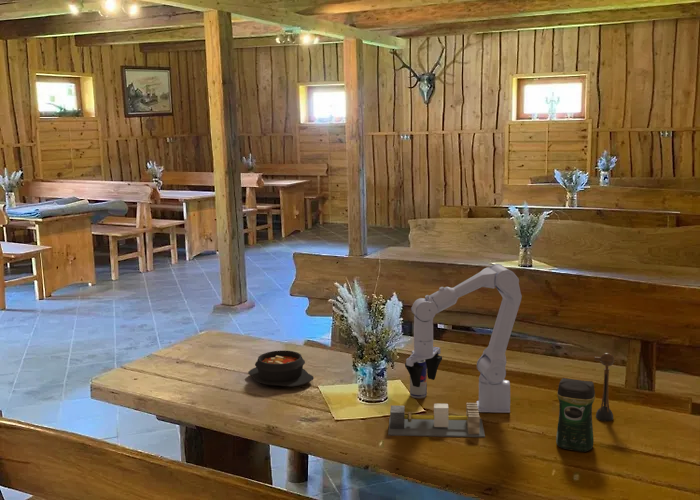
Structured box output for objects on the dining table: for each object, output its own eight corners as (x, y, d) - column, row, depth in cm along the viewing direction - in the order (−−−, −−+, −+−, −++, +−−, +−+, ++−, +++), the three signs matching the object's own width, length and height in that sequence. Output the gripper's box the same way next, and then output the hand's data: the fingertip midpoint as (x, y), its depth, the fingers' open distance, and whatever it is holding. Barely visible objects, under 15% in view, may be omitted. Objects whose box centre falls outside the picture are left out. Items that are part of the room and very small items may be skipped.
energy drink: (425, 399, 233) (425, 363, 231) (409, 398, 234) (408, 362, 232) (427, 392, 238) (427, 357, 236) (411, 392, 239) (410, 356, 237)
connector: (411, 421, 215) (411, 405, 214) (411, 429, 210) (411, 412, 209) (391, 421, 215) (390, 405, 215) (390, 428, 211) (390, 412, 210)
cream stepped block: (447, 421, 213) (447, 403, 212) (448, 427, 209) (448, 408, 208) (433, 421, 214) (433, 403, 213) (434, 426, 210) (434, 408, 209)
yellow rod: (472, 419, 211) (472, 415, 211) (472, 421, 210) (472, 417, 210) (397, 417, 213) (397, 414, 213) (397, 419, 212) (397, 415, 212)
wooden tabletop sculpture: (591, 419, 215) (594, 354, 212) (592, 413, 219) (595, 349, 216) (612, 422, 213) (616, 356, 209) (613, 416, 217) (616, 351, 213)
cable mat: (481, 419, 217) (481, 418, 216) (485, 437, 205) (485, 436, 205) (389, 417, 219) (389, 416, 219) (388, 435, 207) (388, 433, 207)
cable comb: (476, 419, 216) (476, 402, 215) (479, 434, 206) (479, 416, 205) (466, 419, 216) (466, 402, 215) (468, 434, 206) (468, 416, 205)
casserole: (326, 380, 251) (325, 357, 249) (287, 397, 237) (286, 372, 236) (274, 365, 267) (273, 343, 265) (235, 380, 253) (234, 356, 251)
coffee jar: (595, 442, 200) (597, 378, 197) (590, 455, 193) (593, 388, 190) (558, 436, 204) (560, 373, 201) (553, 448, 197) (555, 382, 194)
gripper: (427, 330, 226) (427, 373, 228) (397, 342, 215) (398, 386, 218) (446, 335, 221) (446, 378, 224) (417, 347, 211) (417, 392, 213)
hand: (423, 382), depth 220 cm, fingers open, 7 cm apart
